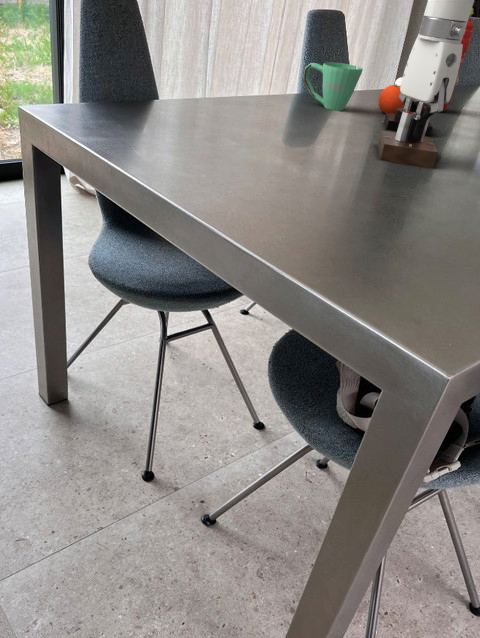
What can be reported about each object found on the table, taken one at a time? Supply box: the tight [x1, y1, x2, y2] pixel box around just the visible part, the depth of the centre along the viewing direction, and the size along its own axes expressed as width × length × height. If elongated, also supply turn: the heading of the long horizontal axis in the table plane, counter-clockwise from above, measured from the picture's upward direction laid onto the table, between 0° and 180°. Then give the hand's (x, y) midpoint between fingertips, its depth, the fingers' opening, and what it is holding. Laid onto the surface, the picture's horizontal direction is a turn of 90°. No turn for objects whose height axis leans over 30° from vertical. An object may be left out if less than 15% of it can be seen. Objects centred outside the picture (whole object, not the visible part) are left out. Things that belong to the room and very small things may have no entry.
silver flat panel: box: [395, 111, 431, 142], centre depth 110 cm, size 6×2×5 cm, turn 109°
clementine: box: [377, 84, 404, 115], centre depth 147 cm, size 8×7×7 cm
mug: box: [303, 61, 364, 112], centre depth 145 cm, size 15×10×10 cm
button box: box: [383, 107, 434, 138], centre depth 134 cm, size 10×10×4 cm
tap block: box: [377, 130, 439, 169], centre depth 112 cm, size 10×12×3 cm
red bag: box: [424, 7, 474, 113], centre depth 152 cm, size 12×8×25 cm, turn 163°
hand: (409, 138), depth 111 cm, fingers closed on silver flat panel
